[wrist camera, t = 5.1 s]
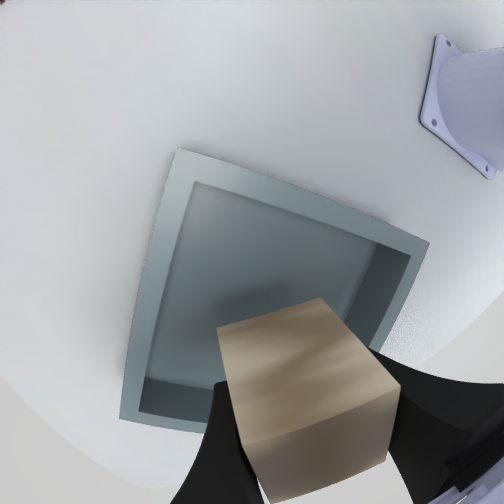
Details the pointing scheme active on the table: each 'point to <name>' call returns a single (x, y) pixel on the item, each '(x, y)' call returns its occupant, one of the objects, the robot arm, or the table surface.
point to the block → (306, 398)
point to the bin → (248, 278)
